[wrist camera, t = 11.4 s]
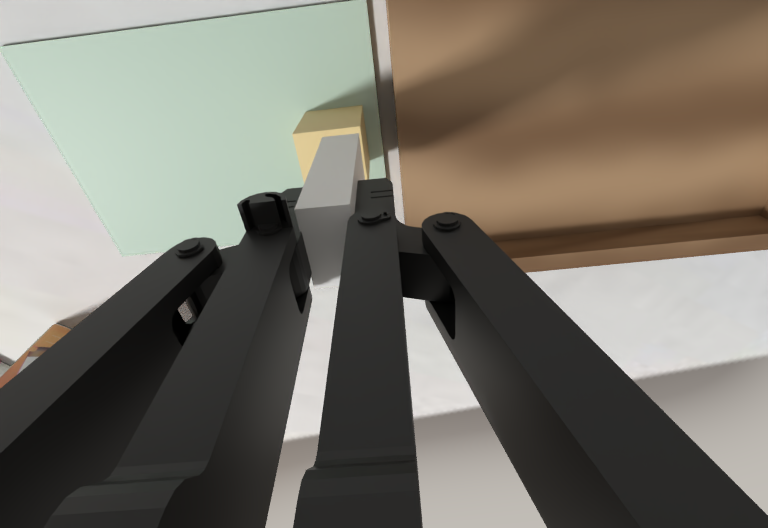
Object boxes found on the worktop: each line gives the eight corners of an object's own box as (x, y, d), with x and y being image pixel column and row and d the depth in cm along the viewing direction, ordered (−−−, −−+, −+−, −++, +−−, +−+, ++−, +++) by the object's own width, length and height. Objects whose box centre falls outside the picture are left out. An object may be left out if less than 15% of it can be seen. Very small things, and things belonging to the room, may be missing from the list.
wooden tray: (381, -52, 17) (383, -67, 13) (867, -117, 16) (1032, -155, 12) (406, 238, 25) (411, 283, 21) (726, 205, 24) (795, 246, 20)
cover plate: (10, 45, 19) (-86, 58, 15) (366, -2, 18) (364, -1, 14) (128, 249, 26) (84, 295, 22) (391, 222, 25) (394, 264, 21)
